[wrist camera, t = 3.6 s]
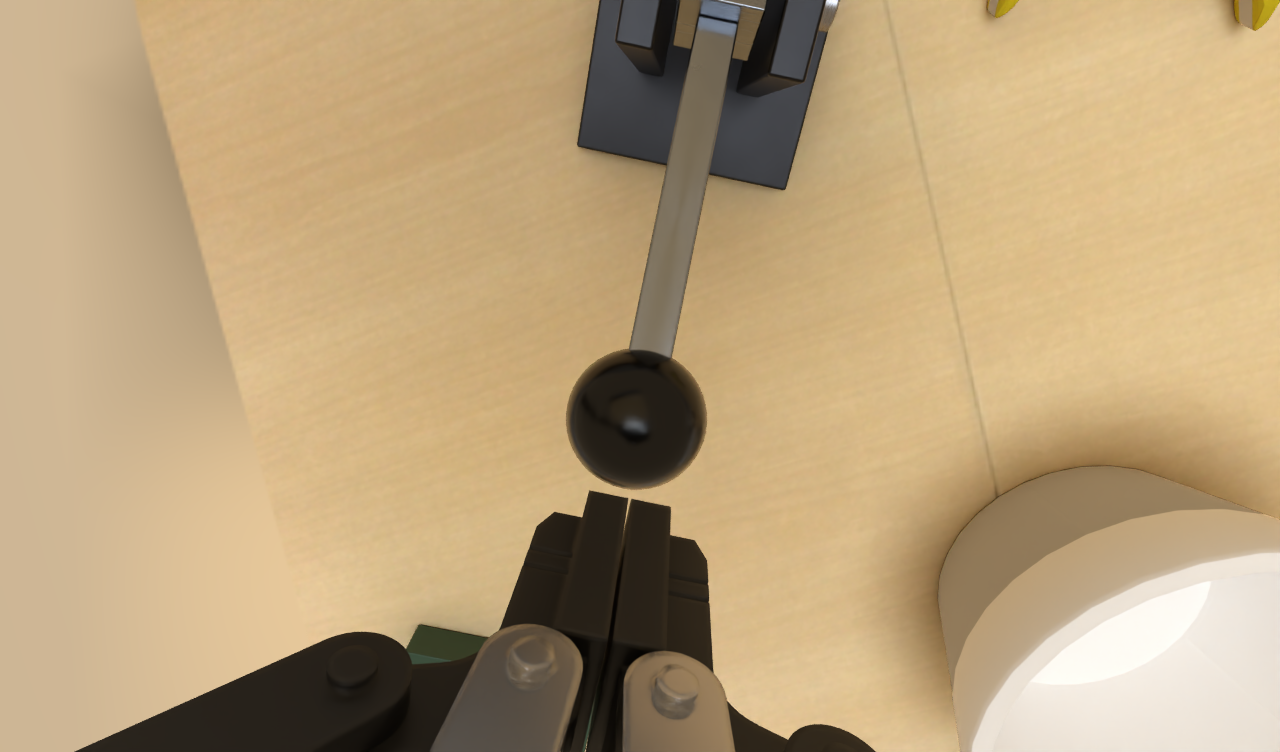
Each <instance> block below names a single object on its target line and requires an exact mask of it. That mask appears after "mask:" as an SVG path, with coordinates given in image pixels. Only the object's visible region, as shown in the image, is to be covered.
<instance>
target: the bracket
mask: <svg viewBox="0 0 1280 752" xmlns="http://www.w3.org/2000/svg"><path fill="white" fill-rule="evenodd" d="M839 2H840V0H768V2H767V7H766V11H765V14H764V17H763V19H762V22H761V25H760V28H759V31H758V33H757V36H756V39H755V42H754V45H753V47H752V50H751V53H750V56H749V59H748V60H747V61H744V60H740V59H735V58H732V61H731V66H730V71H729V76H728V81H727V86H726V91H725V96H724V101H723V106H722V111H721V116H720V121H719V126H718V131H717V136H716V140H715V145H714V150H713V155H712V160H711V165H710V170H709V175H714V176H718V177H723V178H728V179H733V180H737V181H742V182H747V183H751V184H756V185H761V186H766V187H770V188H775V189H780V190H785V189H786V186H787V182H788V179H789V175H790V171H791V167H792V164H793V160H794V156H795V153H796V149H797V145H798V141H799V138H800V134H801V130H802V127H803V123H804V119H805V115H806V112H807V108H808V104H809V101H810V97H811V93H812V89H813V86H814V82H815V78H816V74H817V71H818V67H819V63H820V60H821V56H822V52H823V48H824V45H825V41H826V37H827V34H828V30H829V28H830V26H831V24H832V22H833V20H834V17H835V14H836V11H837V8H838V5H839ZM678 3H679V0H599V7H598V13H597V20H596V26H595V33H594V39H593V46H592V52H591V58H590V65H589V71H588V78H587V84H586V91H585V97H584V104H583V110H582V116H581V123H580V129H579V136H578V142H577V146H578V147H581V148H586V149H591V150H596V151H600V152H605V153H610V154H615V155H619V156H624V157H629V158H633V159H638V160H643V161H648V162H652V163H657V164H662V165H666V166H667V162H668V157H669V152H670V147H671V143H672V138H673V133H674V128H675V123H676V118H677V114H678V109H679V104H680V99H681V94H682V89H683V85H684V80H685V75H686V70H687V65H688V60H689V56H690V51H691V49H689V48H684V47H679V46H675V45H673V38H674V31H675V24H676V17H677V10H678Z"/></svg>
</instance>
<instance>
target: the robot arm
mask: <svg viewBox="0 0 1280 752" xmlns="http://www.w3.org/2000/svg"><path fill="white" fill-rule="evenodd" d="M627 504H628V498H624V497H619V496H614V495H609V494H604V493H599V492H594V491H589V494H588V498H587V501H586V505H585V509H584V513H583V517H577V516H572V515H567V514H562V513H557V512H554V513H553V514H551V515H550V516H549V517H548V518H547V519H545V520H544V521H543V522H542V523H540V524H539V525H538V526H537V528H536V530H535V533H534V536H533V539H532V541H531V544H530V548H529V550H528V552H527V555H526V558H525V561H524V565H523V566H522V569H521V572H520V575H519V577H518V580H517V583H516V586H515V588H514V591H513V594H512V597H511V600H510V602H509V605H508V608H507V611H506V613H505V616H504V619H503V622H502V624H501V627H500V629H499V631H498V632H496V633H494V634H493V635H492V636H490V637H489V638H488V639H487V640H486V641H485V642H484V644H483V645H482V647H481V649H480V650H479V651H478V652H476V653H474V654H472V655H470V656H467V657H465V658H462V659H458V660H454V661H448V662H440V663H425V664H412V661H411V658H410V656H409V653H408V652H407V651H406V649H405V648H404V647H403V646H402V645H401V644H400V643H399V642H397V641H395V640H394V639H392V638H390V637H387V636H385V635H382V634H378V633H372V632H352V633H345V634H341V635H337V636H334V637H331V638H328V639H326V640H323V641H321V642H319V643H317V644H315V645H312V646H310V647H308V648H306V649H303V650H301V651H299V652H297V653H294V654H292V655H290V656H288V657H285V658H283V659H281V660H279V661H277V662H274V663H272V664H270V665H268V666H265V667H263V668H261V669H259V670H257V671H254V672H252V673H250V674H247V675H245V676H243V677H241V678H239V679H236V680H234V681H232V682H229V683H227V684H225V685H223V686H221V687H218V688H216V689H214V690H212V691H209V692H207V693H205V694H203V695H201V696H198V697H196V698H194V699H191V700H189V701H187V702H185V703H183V704H180V705H178V706H176V707H174V708H171V709H169V710H167V711H165V712H163V713H160V714H158V715H156V716H153V717H151V718H149V719H147V720H144V721H142V722H140V723H138V724H135V725H133V726H131V727H129V728H127V729H124V730H122V731H120V732H118V733H115V734H113V735H111V736H109V737H106V738H104V739H102V740H100V741H97V742H96V743H93V744H91V745H89V746H86V747H84V748H82V749H80V750H77V751H75V752H582V750H583V746H584V742H585V737H586V733H587V729H588V724H589V720H590V715H591V711H592V716H591V722H590V729H589V735H588V742H587V748H586V752H875V751H874V750H873V749H872V748H871V747H870V746H869V745H868V744H866V743H865V742H864V741H862V740H861V739H859V738H858V737H856V736H854V735H853V734H851V733H849V732H847V731H845V730H842V729H840V728H837V727H833V726H829V725H822V724H814V725H808V726H805V727H802V728H800V729H798V730H797V731H795V732H794V733H793V734H792V735H791V737H790V738H789V740H787V739H785V738H783V737H781V736H779V735H777V734H775V733H773V732H771V731H769V730H767V729H765V728H763V727H761V726H759V725H757V724H755V723H753V722H752V721H750V720H748V719H747V718H745V717H744V716H743V715H741V714H740V713H739V712H738V711H737V710H735V709H734V708H733V707H732V706H731V705H730V703H729V702H728V701H727V699H726V695H725V691H724V689H723V687H722V684H721V683H720V681H719V680H718V678H717V677H716V676H715V675H714V672H713V660H712V642H711V623H710V605H709V587H708V569H707V560H706V558H705V556H704V555H703V553H702V552H701V550H700V548H699V547H698V545H697V543H696V542H695V540H691V539H686V538H681V537H676V536H671V535H670V520H671V507H669V506H664V505H659V504H654V503H649V502H644V501H639V500H634V499H631V502H630V506H629V510H628V515H627V519H626V524H625V518H626V511H627ZM624 525H625V528H624ZM623 532H624V533H623ZM593 702H594V703H593ZM592 707H593V709H592Z"/></svg>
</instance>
